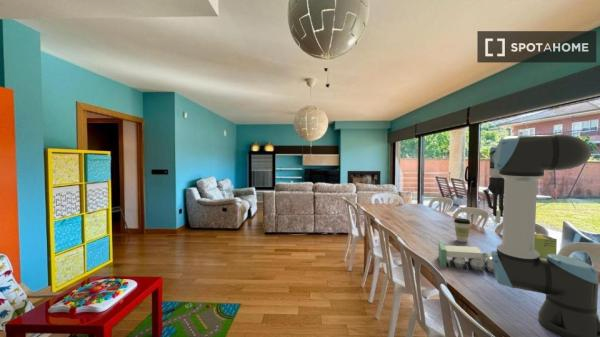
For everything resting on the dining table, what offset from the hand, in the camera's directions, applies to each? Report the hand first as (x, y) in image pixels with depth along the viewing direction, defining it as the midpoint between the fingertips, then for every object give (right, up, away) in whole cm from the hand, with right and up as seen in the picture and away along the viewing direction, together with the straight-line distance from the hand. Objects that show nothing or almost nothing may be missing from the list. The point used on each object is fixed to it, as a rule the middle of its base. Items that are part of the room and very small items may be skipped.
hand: (497, 222), depth 129 cm
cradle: (-16, -24, +8) cm, 30 cm away
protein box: (+25, -24, +8) cm, 36 cm away
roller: (-13, -22, +6) cm, 26 cm away
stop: (-22, -24, +11) cm, 35 cm away
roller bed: (-2, -24, +1) cm, 24 cm away
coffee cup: (+12, -23, +48) cm, 55 cm away
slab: (-14, -19, +7) cm, 24 cm away
